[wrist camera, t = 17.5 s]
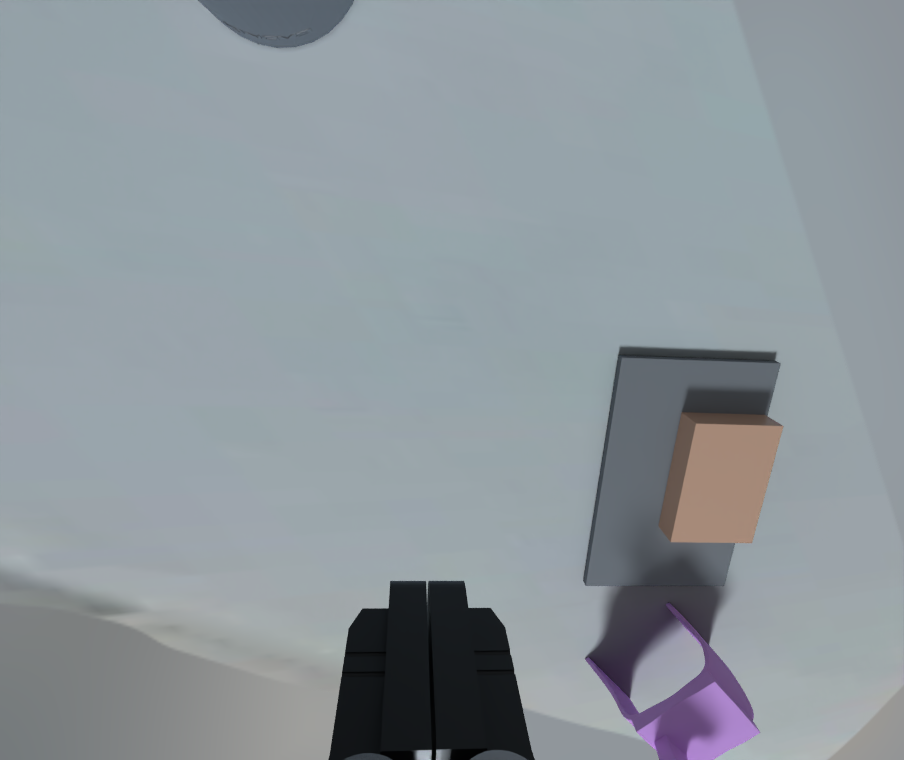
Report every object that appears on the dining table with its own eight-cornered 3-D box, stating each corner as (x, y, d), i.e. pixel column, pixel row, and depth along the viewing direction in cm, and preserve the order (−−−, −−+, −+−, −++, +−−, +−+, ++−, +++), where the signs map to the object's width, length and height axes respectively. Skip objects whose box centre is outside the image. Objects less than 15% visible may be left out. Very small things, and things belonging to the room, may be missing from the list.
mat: (618, 355, 36) (622, 357, 36) (775, 360, 37) (780, 363, 36) (583, 580, 42) (585, 585, 41) (720, 580, 43) (724, 585, 42)
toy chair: (719, 650, 45) (861, 858, 31) (633, 707, 46) (730, 931, 32) (667, 590, 43) (794, 784, 28) (577, 651, 44) (656, 866, 30)
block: (696, 423, 35) (783, 426, 36) (681, 412, 37) (764, 414, 38) (670, 542, 38) (751, 543, 38) (658, 525, 40) (736, 526, 40)
